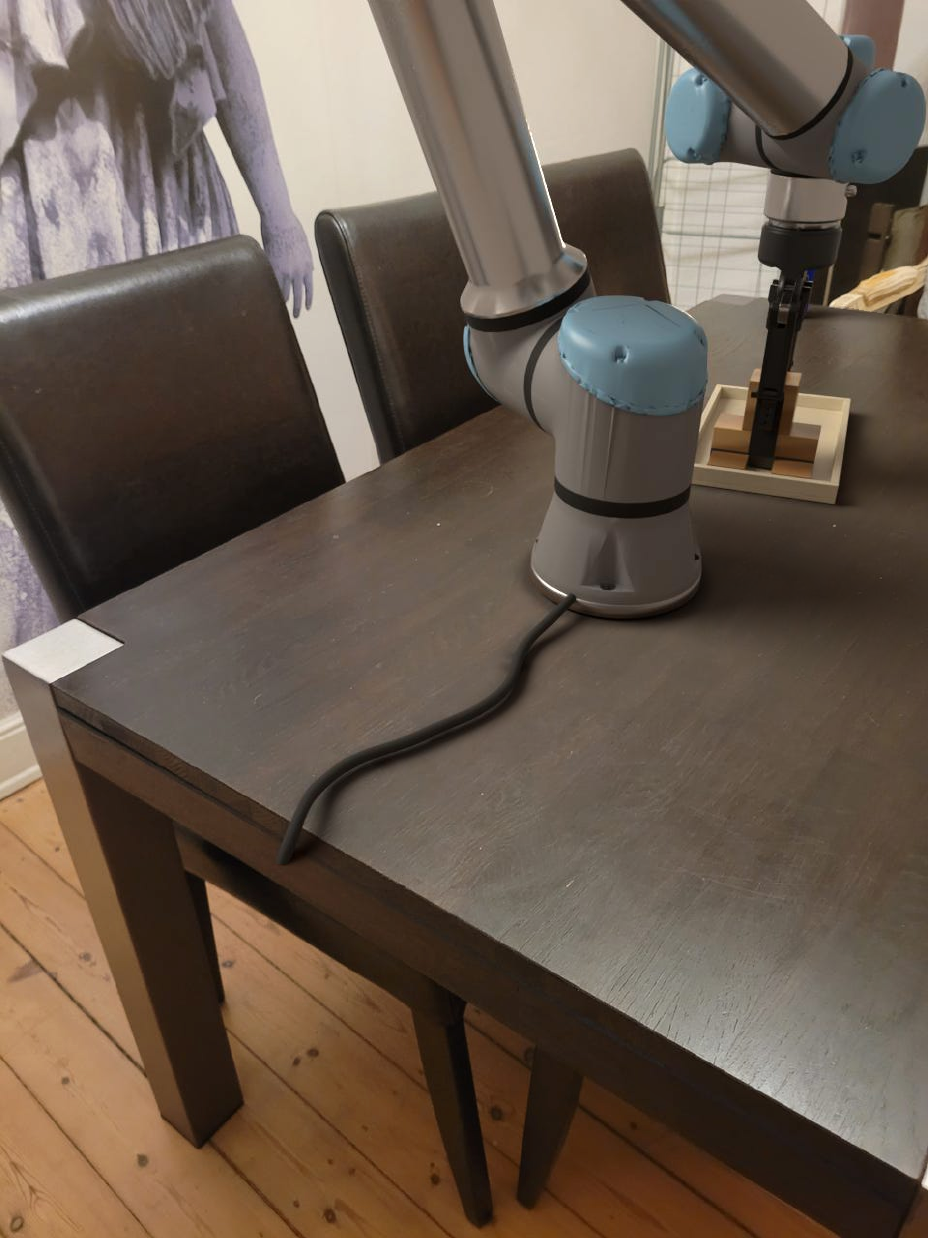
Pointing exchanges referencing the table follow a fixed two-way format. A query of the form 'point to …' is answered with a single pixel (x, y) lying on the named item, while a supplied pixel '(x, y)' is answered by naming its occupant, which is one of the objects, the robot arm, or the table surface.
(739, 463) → the chip
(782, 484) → the tray
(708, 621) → the table surface
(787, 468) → the chip
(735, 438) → the brush
